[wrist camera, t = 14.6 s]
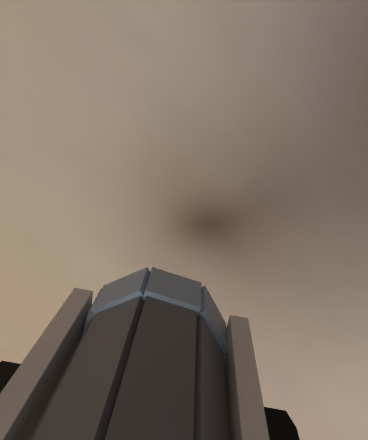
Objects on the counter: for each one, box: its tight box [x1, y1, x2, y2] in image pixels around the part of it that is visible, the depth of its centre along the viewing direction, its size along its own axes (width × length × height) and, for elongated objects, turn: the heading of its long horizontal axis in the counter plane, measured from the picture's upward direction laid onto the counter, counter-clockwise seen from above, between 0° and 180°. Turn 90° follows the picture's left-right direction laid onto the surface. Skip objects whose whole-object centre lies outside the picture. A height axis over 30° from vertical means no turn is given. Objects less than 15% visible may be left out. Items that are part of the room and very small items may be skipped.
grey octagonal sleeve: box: [30, 267, 230, 440], centre depth 10 cm, size 6×6×7 cm
